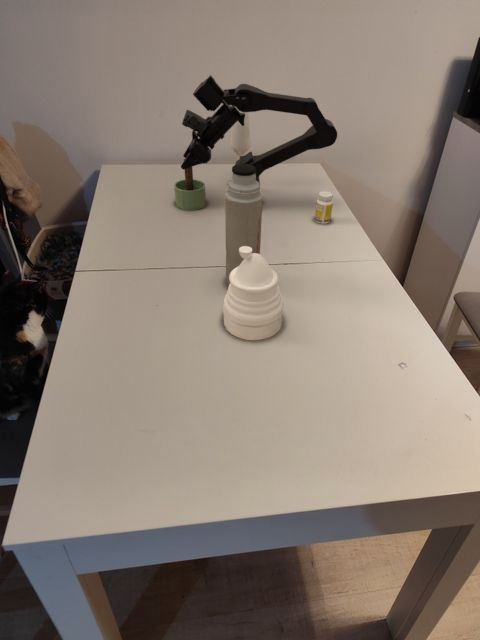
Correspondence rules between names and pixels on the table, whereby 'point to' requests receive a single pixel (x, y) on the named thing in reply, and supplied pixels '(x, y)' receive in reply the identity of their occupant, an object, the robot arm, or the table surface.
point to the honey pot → (253, 299)
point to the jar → (190, 195)
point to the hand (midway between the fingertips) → (183, 162)
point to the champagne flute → (240, 136)
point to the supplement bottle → (324, 207)
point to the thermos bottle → (242, 215)
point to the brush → (189, 179)
